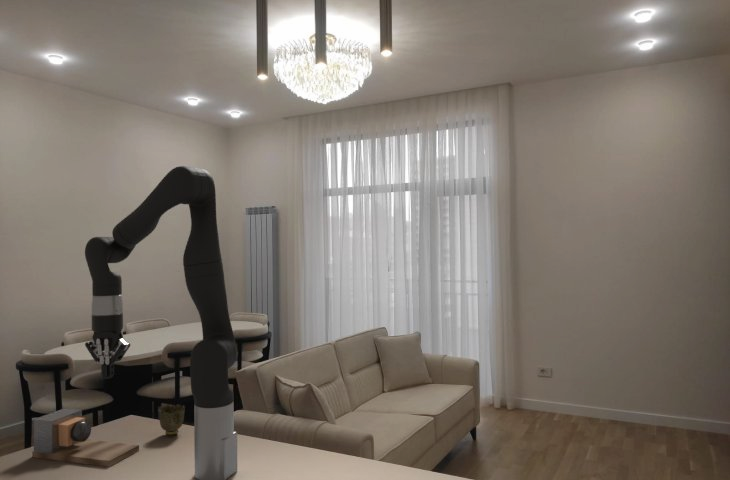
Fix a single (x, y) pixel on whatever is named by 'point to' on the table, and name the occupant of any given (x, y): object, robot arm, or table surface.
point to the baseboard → (92, 453)
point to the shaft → (80, 431)
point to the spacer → (67, 431)
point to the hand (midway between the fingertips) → (107, 377)
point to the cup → (171, 418)
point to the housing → (51, 430)
